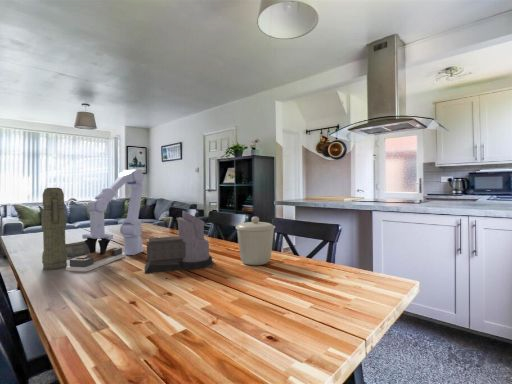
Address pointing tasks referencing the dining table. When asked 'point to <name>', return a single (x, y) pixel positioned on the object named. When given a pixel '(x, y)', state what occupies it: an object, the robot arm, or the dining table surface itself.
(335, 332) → the dining table surface
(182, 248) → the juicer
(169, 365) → the dining table surface
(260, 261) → the canister
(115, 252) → the end cap cradle
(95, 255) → the walnut slat
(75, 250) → the dark grey stone block
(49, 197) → the olive stone pillar
